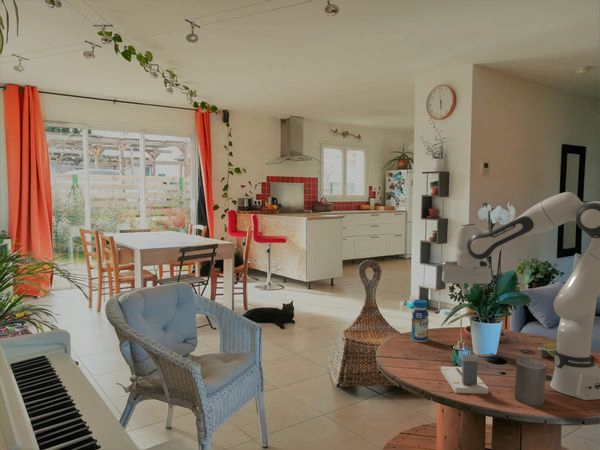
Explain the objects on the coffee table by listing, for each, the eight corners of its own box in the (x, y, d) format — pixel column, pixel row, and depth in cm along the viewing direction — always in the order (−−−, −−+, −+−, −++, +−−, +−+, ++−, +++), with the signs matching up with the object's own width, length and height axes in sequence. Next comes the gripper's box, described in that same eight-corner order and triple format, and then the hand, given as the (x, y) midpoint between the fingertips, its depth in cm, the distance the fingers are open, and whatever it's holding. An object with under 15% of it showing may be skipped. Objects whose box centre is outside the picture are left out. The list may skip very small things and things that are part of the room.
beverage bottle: (417, 336, 240) (418, 298, 239) (431, 340, 234) (432, 301, 233) (407, 339, 235) (408, 300, 234) (421, 343, 229) (422, 303, 227)
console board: (470, 371, 193) (470, 366, 193) (488, 393, 172) (488, 388, 172) (440, 371, 193) (440, 366, 193) (455, 392, 172) (455, 387, 172)
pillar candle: (509, 394, 171) (510, 354, 170) (534, 393, 172) (536, 354, 171) (523, 406, 162) (525, 365, 160) (550, 405, 162) (552, 364, 161)
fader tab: (475, 382, 176) (476, 354, 175) (477, 384, 174) (478, 356, 173) (460, 382, 176) (461, 354, 175) (462, 384, 174) (463, 356, 173)
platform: (576, 360, 207) (576, 346, 207) (544, 365, 202) (545, 350, 201) (553, 351, 219) (554, 338, 218) (523, 356, 213) (524, 342, 212)
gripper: (444, 262, 195) (443, 294, 196) (493, 262, 194) (492, 295, 195) (440, 260, 202) (439, 291, 203) (488, 260, 201) (487, 292, 202)
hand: (465, 293), depth 199 cm, fingers closed
